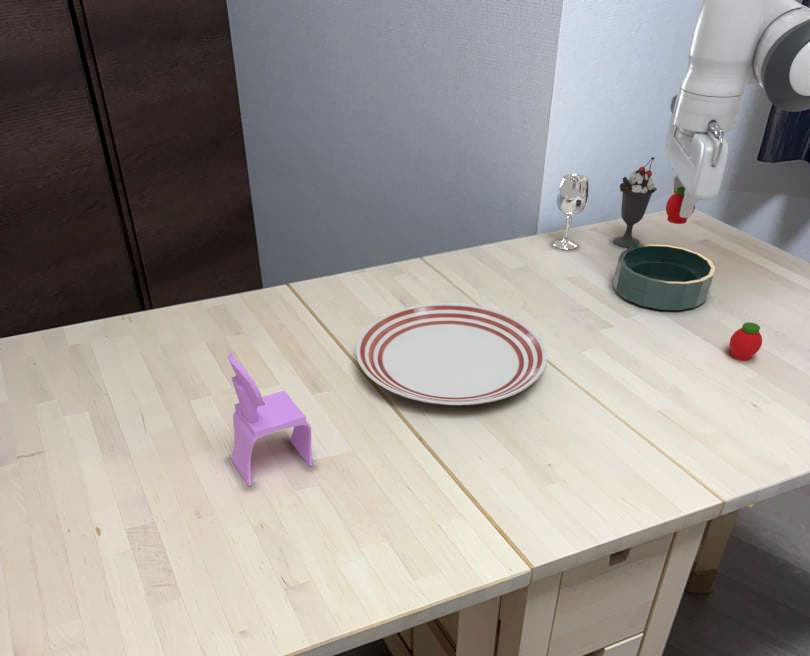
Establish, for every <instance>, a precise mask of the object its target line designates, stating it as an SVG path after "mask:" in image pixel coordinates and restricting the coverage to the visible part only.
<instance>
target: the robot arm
mask: <svg viewBox="0 0 810 656" xmlns="http://www.w3.org/2000/svg"><path fill="white" fill-rule="evenodd" d="M749 85H760V86H761V88H763V91H764V93H765V95H766V97H767V99H768V100H769V101H770V103H771V104H772V105H773V106H775V107H776V108H778V109H779V110H781V111H785V112H791V113H797V112H803V111H807V110H808V111H809V110H810V7H808V6H806V5H804V4H802V3H800V2H798V1H797V0H702V4H701V6H700V9H699V12H698V16H697V19H696V22H695V25H694V28H693V32H692V35H691V40H690V43H689V47H688V63H687V69H686V72H685V74H684V76H683V78H682V81H681V82H680V87H679V90H678V93H675V94H673V95H672V97H671V100H670V104H669V111H670V113H671V115H670V118H669V123H668V129H667V134H666V140H665V146H664V158H665V160H666V162H667V164H668V165H669V167H670V168H671V169H672V171H673V175H672V191H671V195H670V197H671V196H672V195H673V194H675V193H676V191H677V188H678V187H684V188H685V192H684V194H685V196H684V199H683V202H682V203H680V206H679V210H678V213H679V215H680V217H682V218H688V219H689V218H691V217H692V215H693V213H694V212H693V209H694V206H695V207H696V205H697V203H698V202H699V201H714V200H715V199H716V198H717V196H718V194H719V192H720V189H721V185H722V181H723V178H724V173H725V169H726V166H727V161H728V160H727V159H728V155H729V145H728V142H727V140H725V138H724V135H725V133H728V132H730V131H732V130H733V129H734V127H735V124H736V121H737V118H738V114H739V111H740V107H741V103H742V101H743V96H744V93H745V90H746V88H747V87H748V86H749ZM694 210H695V209H694ZM692 212H693V213H692Z"/></svg>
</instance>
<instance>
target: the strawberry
mask: <svg viewBox="0 0 810 656" xmlns="http://www.w3.org/2000/svg"><path fill="white" fill-rule="evenodd" d="M684 192H685V188H684V187H678V188H677V191H676V193H675V194H673V195H672V194H671V195H672V196H671V195H670V196H669V198H668V199H667V202H666V204H665V213H666V215H667V222H669V223H671V224H676V225H682V224H686V223H687V221H688V219H689V218H682V217H680V215H679V213H678V210H679V206H680V203H682V202H683V199H684V196H685V194H684ZM695 209H696V205H695V206H694V209H693V212H692V214H694V211H695Z"/></svg>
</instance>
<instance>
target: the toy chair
mask: <svg viewBox="0 0 810 656" xmlns="http://www.w3.org/2000/svg"><path fill="white" fill-rule="evenodd" d="M227 359H228V361H229V363H230V365H231V368H232V370H233V372H234V374H235V376H231V382H232V384H233V387H234V390H235V391H234V392H235V393H236V397H237V400H238V402H237V403H234V412H233V414H232V424H233V432H234V442H233V449H232V452H231V456H230V460H231V462H232V463H233V465H234V466H235V467H236V469H237V471H238V472H239V474H240V475H241V477H242V478H243V480H244V482H245V483H246V485H247V486H248V487H251V486H253V485H252V471H251V469H252V468H251V461H252V460H251V459H252V453H253V452H252V451H253V448H254V446H255V444H256V442H257V441H258V440H259V439H260V438H262V437H265V436H268V435H271V434H273V433H275V432H279V431H282V430H286V429H290V428H293V430H292V433H291V435H290V438H289V441H290V443H291V445H292V446H293V447H294V448H295V450H296V451H297V452H298V454H299V455H300V456H301V457H302V459H303V460H304V462H305V463H306V464H307V465H308V467H313V449H312V446H313V445H312V427H311V425H310V424H309V422H308V421H307V416H306V414H304V413H303V411H302V410H301V409H300V408H299V407H298V405H296V403H295V402H294V401H293V400H292V398H291V397H290V395H289V394H288V393H287V392H286V390H281V391H277V392H273V393H271V394H268V395H266V396H262V394H261V390H260V389H259V386H258V385H257V384H256V382H255V381H254V379H253V378H252V376H251V375H250V374H249V373H248V371H246V369H245V368H244V366H242V365H241V364H240V362H239V361H238V360H237V358H236V357H235V356H234V354H233V352H229V354H228V355H227Z"/></svg>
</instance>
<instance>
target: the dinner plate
mask: <svg viewBox="0 0 810 656" xmlns="http://www.w3.org/2000/svg"><path fill="white" fill-rule="evenodd" d="M355 355H356V360H357V362H358V365H359V367H360V368H361V370H362V372H363V373H364V374H365V376H367V377H368V378H369V379H370V380H372V381H373V382H374V383H375V384H377V385H378V386H380V387H381V388H383V389H385V390H387V391H388V392H391V393H393V394H395V395H396V396H397V395H398V396H401V397H403V398H406V399H409V400H414V401H417V402H422V403H426V404H427V403H428V404H434V405H442V406H443V405H444V406H471V405H472V406H474V405H482V404H483V405H484V404H489V403H493V402H497V401H501V400H504V399H507V398H510V397H513V396H515V395H517V394H519V393H521V392H523V391H525V390H526V389H528V388H529V387H531V386H532V385H533V384H534V383H535V382H536V381H537V380H539V378H540V377H541V376H542V374H543V372H544V370H545V368H546V366H547V363H548V351H547V347H546V345H545V343H544V341H543V340H542V338H541V337H540V336H539V334H538V333H537V332H536V331H535V330H534V329H533V328H532V327H530V326H529V325H528V324H526V323H525V322H524V321H522V320H520V319H518V318H516V317H514V316H513V315H511V314H508V313H506V312H503V311H501V310H498V309H494V308H490V307H487V306H482V305H477V304H471V303H462V302H461V303H459V302H434V303H432V302H431V303H424V304H417V305H411V306H408V307H404V308H400V309H397V310H394V311H391V312H388V313H386V314H385V315H382V316H381V317H379V318H377V319H375V320H374V321H373V322H371V323H370V324H368V326H366V328H365V329H364V330H363V331H362V333H361V334H360V335H359V337H358V339H357V342H356V348H355Z"/></svg>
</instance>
